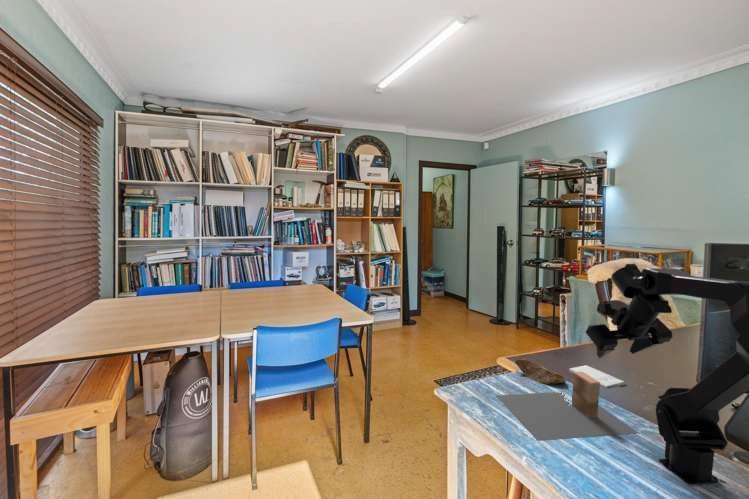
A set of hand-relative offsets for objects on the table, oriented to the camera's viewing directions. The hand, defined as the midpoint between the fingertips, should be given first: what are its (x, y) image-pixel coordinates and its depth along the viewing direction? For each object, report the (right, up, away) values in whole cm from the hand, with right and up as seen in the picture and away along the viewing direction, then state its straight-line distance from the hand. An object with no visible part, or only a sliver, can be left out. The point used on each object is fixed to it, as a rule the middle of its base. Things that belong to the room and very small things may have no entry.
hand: (615, 354), depth 92 cm
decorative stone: (-11, -13, +18) cm, 25 cm away
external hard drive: (+6, -13, +19) cm, 24 cm away
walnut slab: (-9, -14, -2) cm, 17 cm away
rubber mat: (-16, -14, -2) cm, 21 cm away
